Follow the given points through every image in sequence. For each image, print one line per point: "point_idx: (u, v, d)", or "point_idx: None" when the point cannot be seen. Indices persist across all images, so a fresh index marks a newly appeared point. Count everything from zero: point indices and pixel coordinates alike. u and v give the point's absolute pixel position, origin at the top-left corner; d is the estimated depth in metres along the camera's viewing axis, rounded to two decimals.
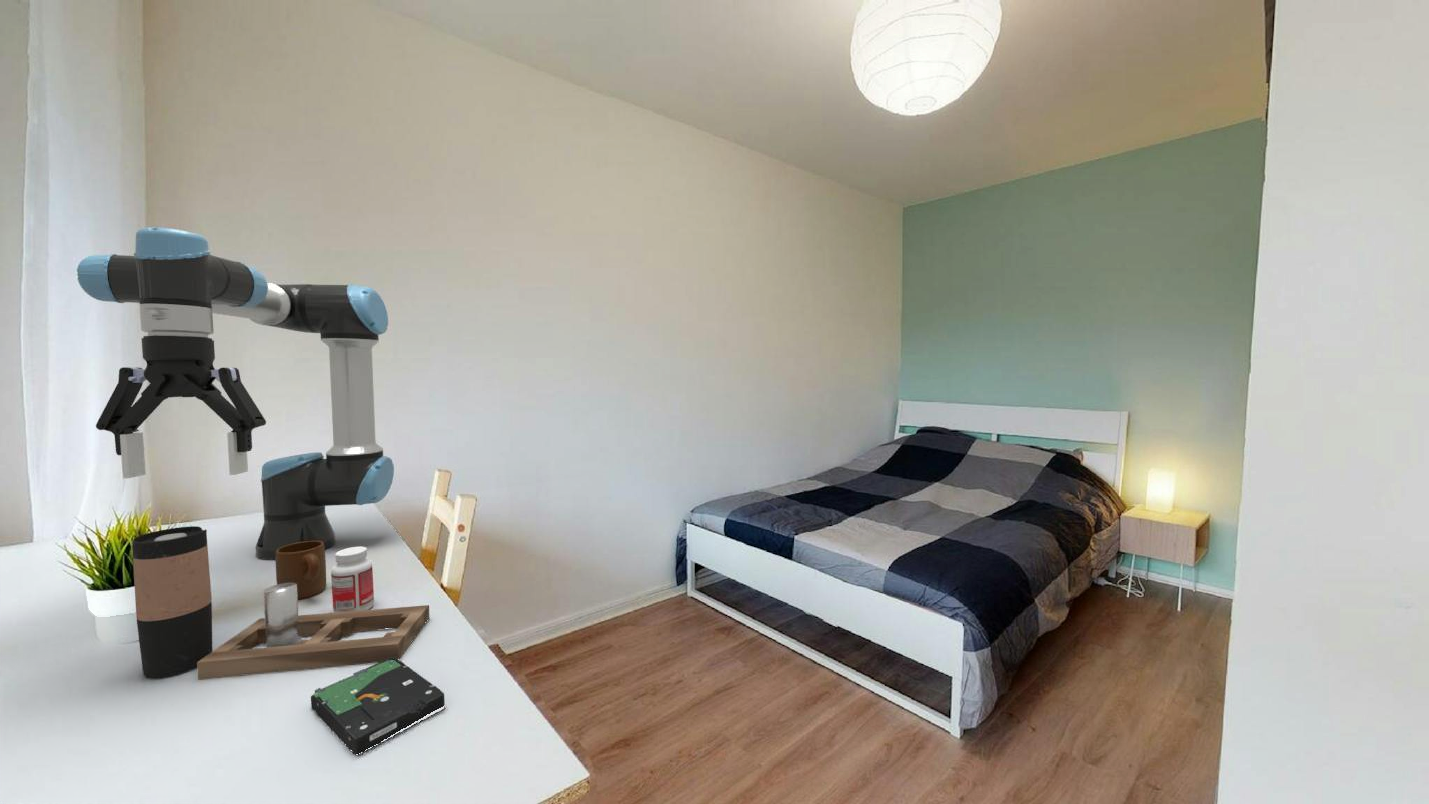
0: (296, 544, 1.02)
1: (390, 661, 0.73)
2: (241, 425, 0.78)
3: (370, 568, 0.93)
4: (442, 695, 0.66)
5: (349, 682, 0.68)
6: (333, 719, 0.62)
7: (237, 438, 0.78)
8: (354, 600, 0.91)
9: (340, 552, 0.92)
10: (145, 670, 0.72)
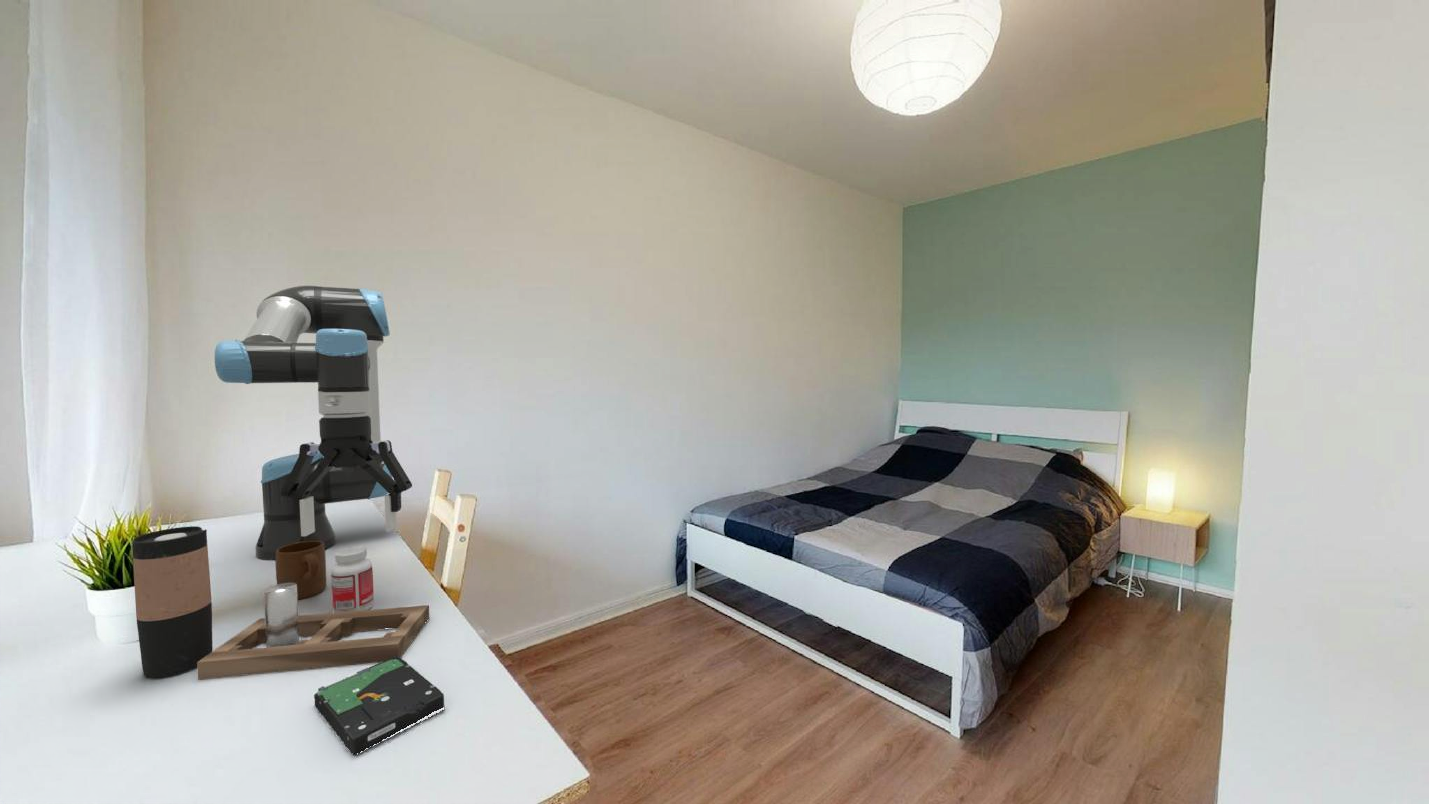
0: (296, 544, 1.02)
1: (393, 660, 0.73)
2: (395, 489, 0.92)
3: (370, 568, 0.93)
4: (442, 695, 0.65)
5: (352, 681, 0.68)
6: (333, 718, 0.62)
7: (391, 500, 0.93)
8: (354, 600, 0.91)
9: (340, 552, 0.92)
10: (145, 670, 0.72)
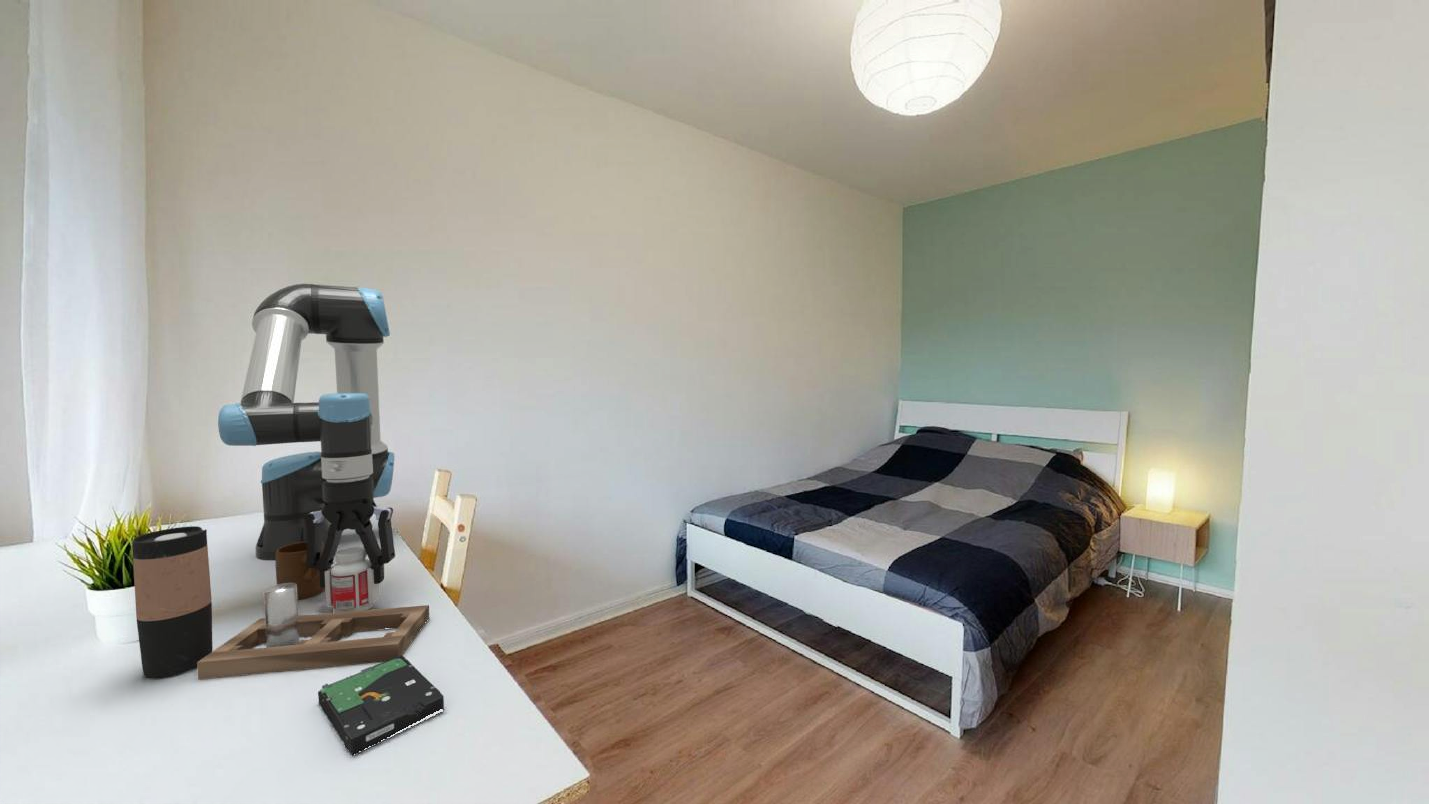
0: (296, 544, 1.02)
1: (397, 659, 0.74)
2: (378, 563, 0.93)
3: None
4: (441, 697, 0.65)
5: (355, 679, 0.69)
6: (334, 716, 0.62)
7: (374, 572, 0.93)
8: (354, 600, 0.91)
9: (340, 552, 0.92)
10: (145, 670, 0.72)
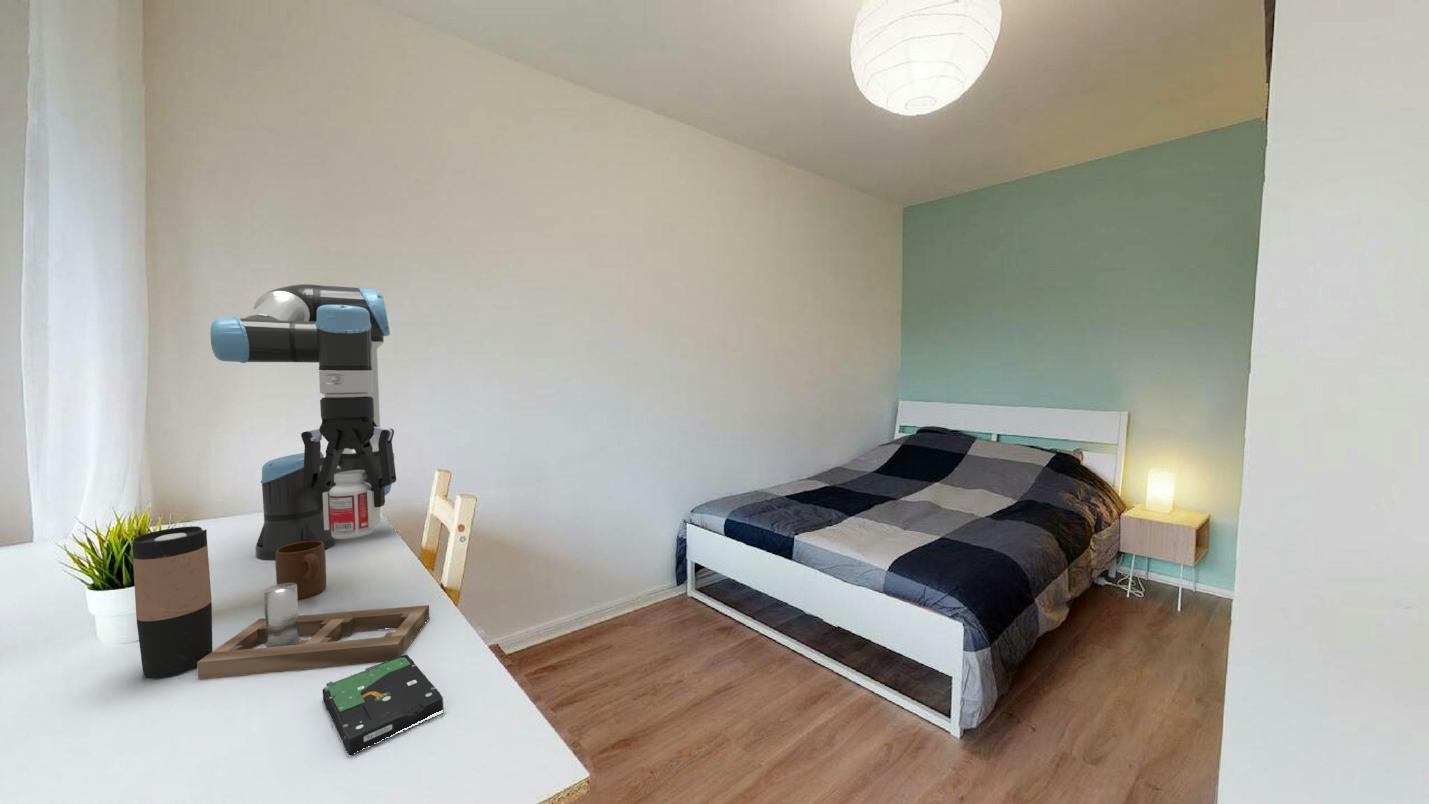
0: (296, 544, 1.02)
1: (402, 659, 0.74)
2: (379, 485, 0.89)
3: None
4: (440, 699, 0.65)
5: (359, 678, 0.69)
6: (335, 715, 0.62)
7: (374, 495, 0.89)
8: (353, 522, 0.87)
9: (339, 473, 0.88)
10: (145, 670, 0.72)
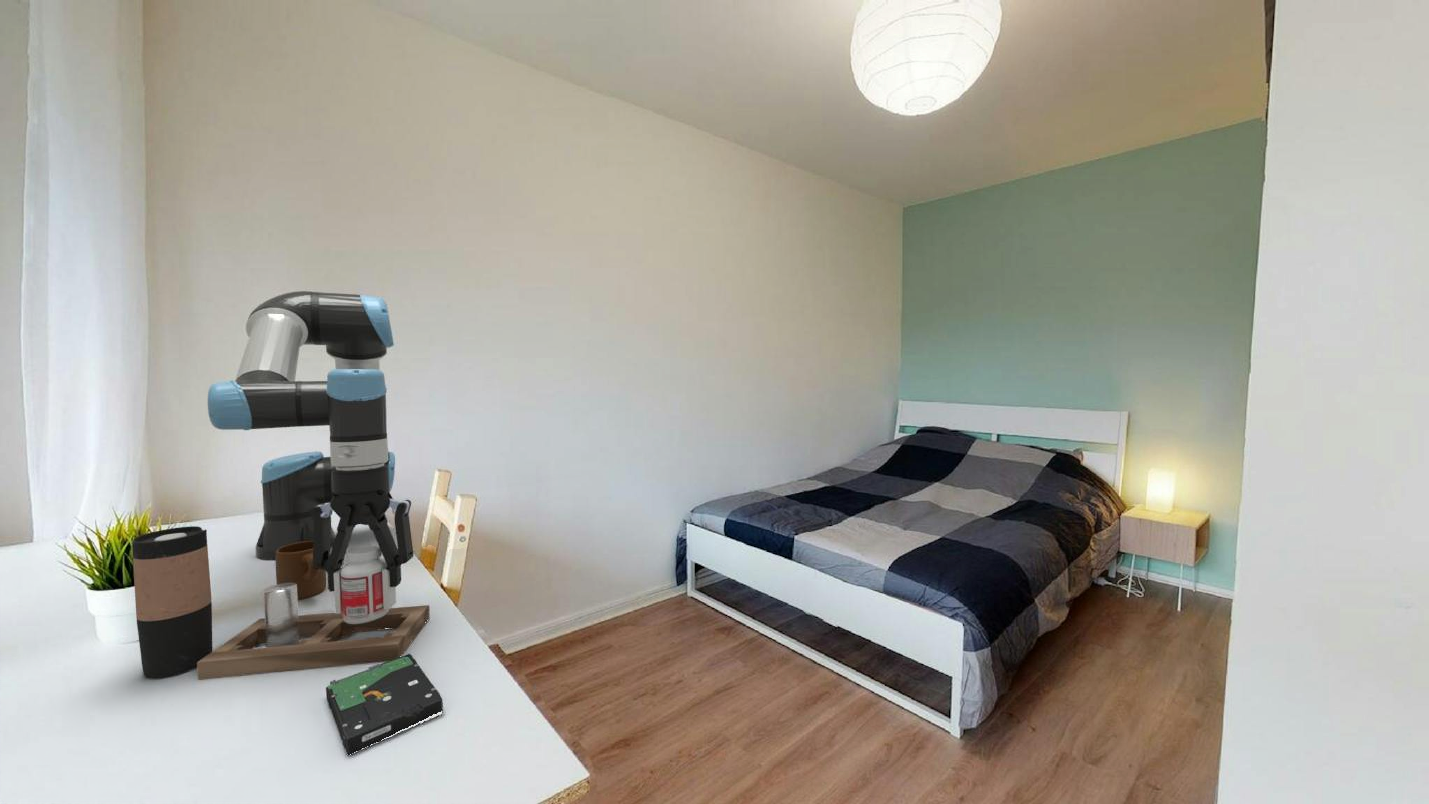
0: (296, 544, 1.02)
1: (405, 658, 0.74)
2: (395, 563, 0.81)
3: None
4: (440, 700, 0.65)
5: (362, 676, 0.69)
6: (336, 714, 0.62)
7: (390, 574, 0.81)
8: (367, 605, 0.79)
9: (351, 550, 0.80)
10: (145, 670, 0.72)
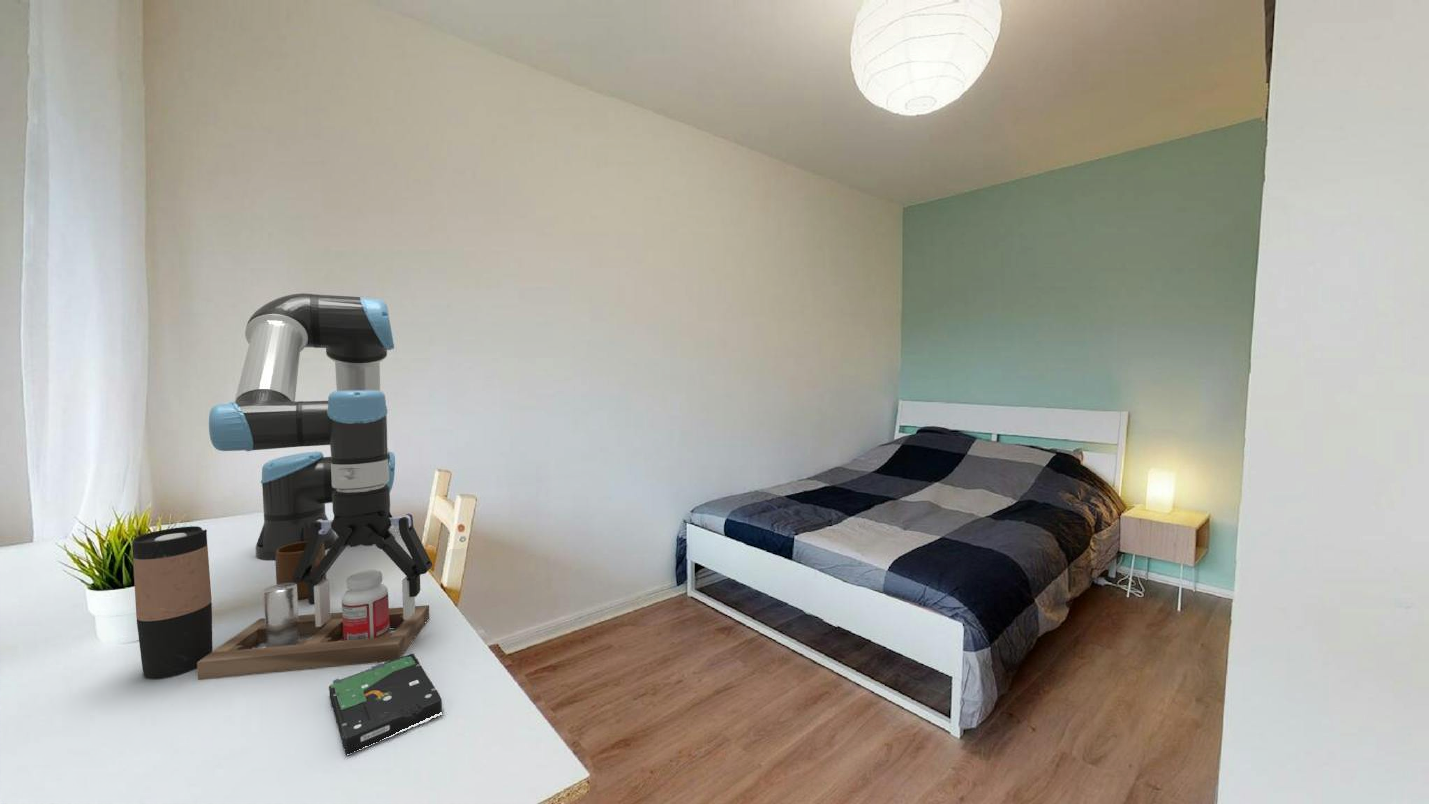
0: (296, 544, 1.02)
1: (408, 658, 0.74)
2: (414, 572, 0.82)
3: (385, 595, 0.82)
4: (439, 701, 0.64)
5: (364, 676, 0.70)
6: (337, 713, 0.63)
7: (409, 584, 0.82)
8: (367, 633, 0.79)
9: (352, 577, 0.81)
10: (145, 670, 0.72)
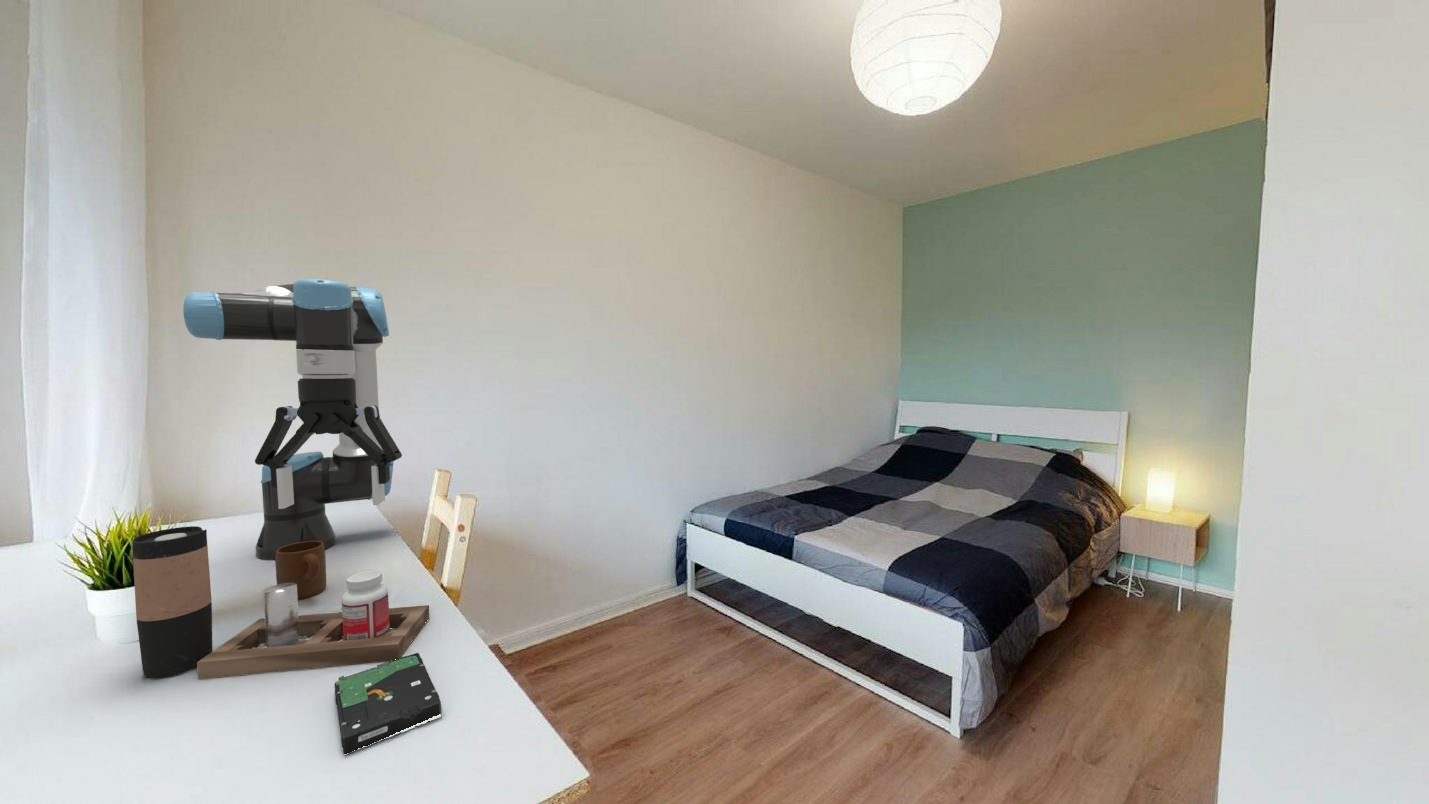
0: (296, 544, 1.02)
1: (413, 657, 0.74)
2: (383, 459, 0.84)
3: (385, 595, 0.82)
4: (438, 703, 0.64)
5: (369, 674, 0.70)
6: (338, 711, 0.63)
7: (379, 471, 0.84)
8: (367, 633, 0.79)
9: (352, 577, 0.81)
10: (145, 670, 0.72)
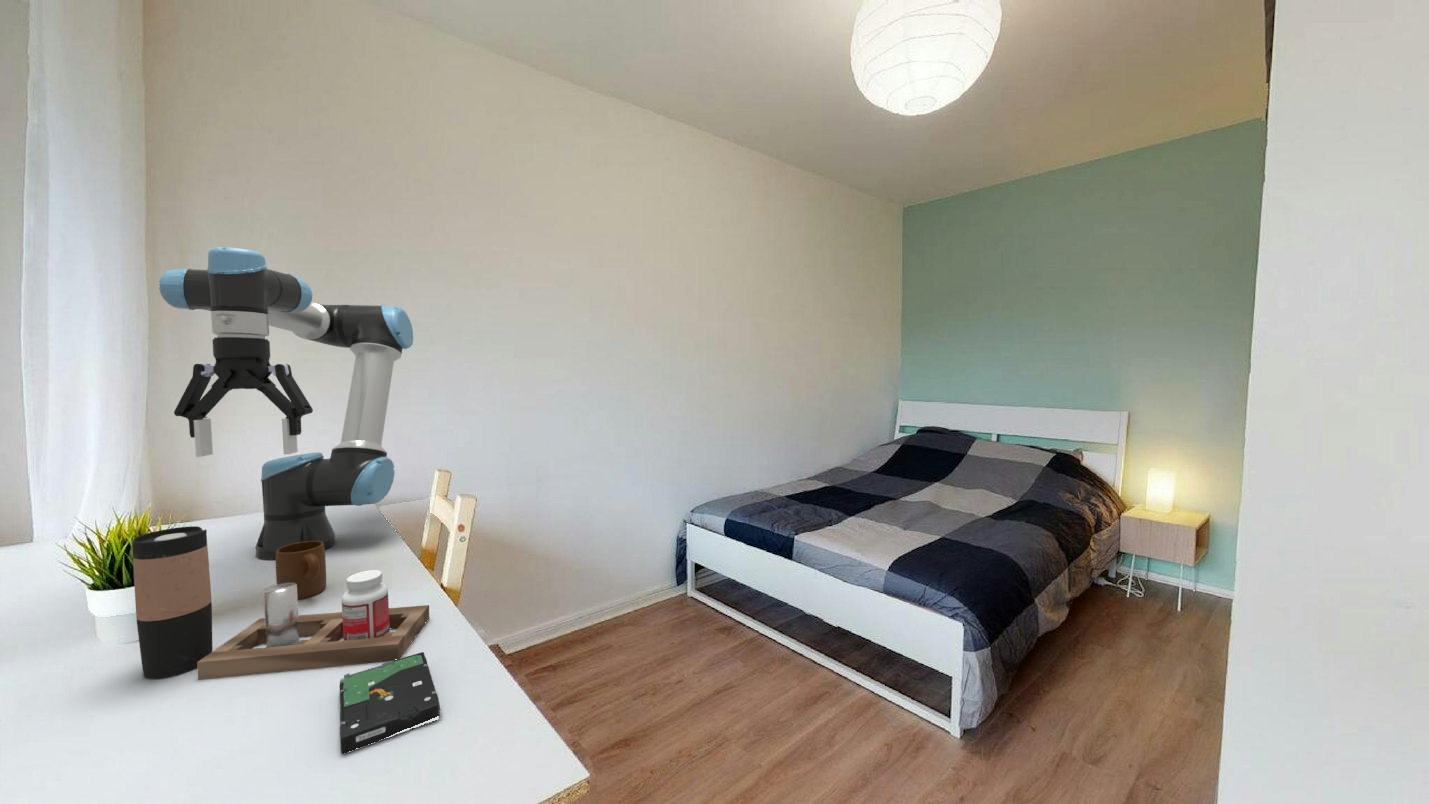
0: (296, 544, 1.02)
1: (417, 656, 0.74)
2: (293, 412, 0.92)
3: (385, 595, 0.82)
4: (437, 705, 0.64)
5: (373, 672, 0.70)
6: (340, 710, 0.63)
7: (289, 423, 0.92)
8: (367, 633, 0.79)
9: (352, 577, 0.81)
10: (145, 670, 0.72)
